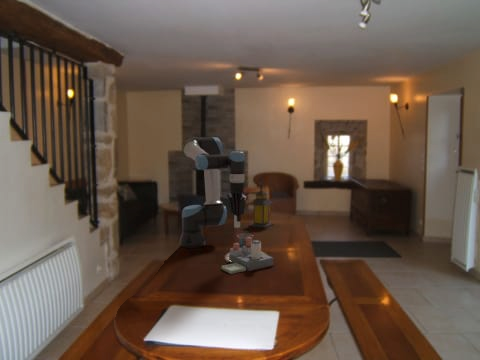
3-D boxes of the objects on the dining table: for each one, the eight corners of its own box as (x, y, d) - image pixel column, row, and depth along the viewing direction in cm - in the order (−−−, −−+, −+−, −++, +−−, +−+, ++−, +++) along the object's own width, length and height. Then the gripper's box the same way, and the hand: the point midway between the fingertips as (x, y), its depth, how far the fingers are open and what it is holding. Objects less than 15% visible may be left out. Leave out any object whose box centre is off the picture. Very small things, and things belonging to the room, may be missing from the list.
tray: (221, 269, 203) (221, 265, 203) (236, 265, 208) (236, 262, 208) (230, 274, 196) (230, 270, 196) (245, 270, 201) (245, 267, 201)
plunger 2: (244, 245, 218) (244, 237, 218) (249, 245, 220) (249, 236, 219) (248, 247, 216) (248, 238, 215) (252, 246, 218) (252, 238, 217)
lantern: (274, 224, 300) (274, 183, 297) (265, 228, 289) (265, 185, 285) (257, 222, 308) (257, 182, 304) (247, 225, 296) (247, 184, 293)
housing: (229, 261, 215) (229, 248, 215) (252, 256, 224) (252, 243, 223) (248, 270, 201) (248, 256, 200) (273, 265, 209) (273, 251, 208)
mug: (251, 257, 222) (251, 238, 221) (234, 256, 224) (234, 237, 223) (256, 251, 234) (256, 232, 233) (240, 250, 236) (240, 231, 235)
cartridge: (249, 265, 209) (249, 241, 208) (257, 263, 212) (257, 239, 210) (254, 267, 205) (254, 243, 204) (262, 266, 208) (262, 241, 206)
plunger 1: (232, 251, 214) (232, 243, 214) (237, 250, 216) (237, 242, 215) (235, 253, 212) (235, 244, 211) (240, 252, 213) (240, 243, 213)
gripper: (223, 181, 212) (223, 226, 215) (240, 183, 202) (240, 230, 205) (233, 180, 217) (234, 224, 220) (251, 182, 208) (251, 228, 210)
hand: (237, 227), depth 213 cm, fingers closed
